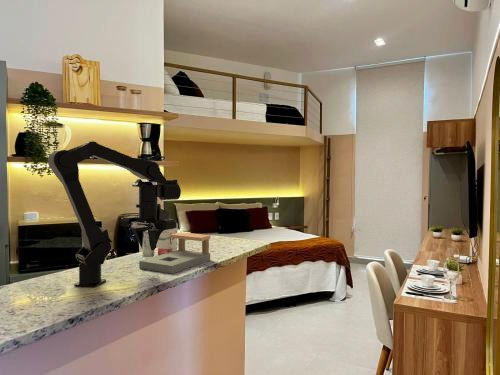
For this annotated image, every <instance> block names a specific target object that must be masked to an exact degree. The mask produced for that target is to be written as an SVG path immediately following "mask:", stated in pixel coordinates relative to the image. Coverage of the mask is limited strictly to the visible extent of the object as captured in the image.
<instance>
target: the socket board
mask: <svg viewBox="0 0 500 375" xmlns="http://www.w3.org/2000/svg"><path fill="white" fill-rule="evenodd" d="M170 238H177V251H173V252H170V253H166V254H162V255H156V256H155V255H154V256H153V257H147V258H146V259H145V258H144V259H141V260H138V261H139V263H138V265H139V266H138V267H139V269H143V270H147V271H148V270H149V271H153V272H154V271H155V272H160V273H166V274H175V273H177V272H180V271H184V270H186V269H188V268H192V267H195V266H197V265H200V264H203V263H206V262H208V260H209V261H211V253H210V239H211V235H209V234H200V233H198V234H197V233H191V232H190V233H189V232H177V233H175V234H171V235H170ZM188 240H189V241H195V242H197V241H198V242H201V251H195V250H187V249H186V241H188ZM205 261H206V262H205Z"/></svg>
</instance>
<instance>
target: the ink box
mask: <svg viewBox="0 0 500 375" xmlns="http://www.w3.org/2000/svg"><path fill="white" fill-rule="evenodd" d="M178 226H179V224H178V223H177V228H174V229H169V230H164V231H163V232H162V233H161V235H160V237H159V239H158V242H157V256H159V255H162V254H166V253H170V252H173V251H177V250H178V239H177V238H170V235H171V234H175V233H178V228H179V227H178Z"/></svg>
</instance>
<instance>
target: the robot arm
mask: <svg viewBox="0 0 500 375" xmlns="http://www.w3.org/2000/svg"><path fill="white" fill-rule="evenodd" d="M91 157H92V158H96V159H98V160H101V161H103V162H106V163H109V164H110V165H115V166H116V167H119V168H123V169H124V170H125V169H126V170H127V171H129V172H130V173H131V174H132V175H134V176H135V177H137V178H139V179H136V181H135V182H133V183H132V185H131V186H132V187H136V188H138V203H137V204H135V208H136V209H137V208H138V216H137V215H130V216H123V217H122V218H121V219H120V226H121V227H129V226H131V227H129V230H131V231H132V233H133V235H134V236H135V237H136V240H137V242H138V244H139V246H140V248H141V249H142V250H143V235H142V231H147V230H148V235H149V241H150V247H151V250H152V251H153V250H154V251H155V249H156V248H157V246H158V239H159V237H160V235H161V233H162V232H163V231H164V230H169V229H174V228H177V224H178V222H177V220H176V219H174V218H170V217H171V212H170V211H169V210H165V209H162V205H161V203H158V199H159V200H160V201H176V200H179V199H180V198H181V195H182V194H181V193H182V190H181V186H180V185H179V183H178V179H166V177H165V176H164V174H163V173H162V171H161V168H160V165H159V163H158V162H156V161H153V160H147V159H142V158H135V157H133V156H130V155H127V154H125V153H122V152H120V151H117V150H115V149H112V148H109V147H107V146H105V145H102V144H100V143H98V142H97V141H93V140H91V141H86V142H84V143H83V144H80V145H78V146H76V147H72V148H70V149H68V150H67V149H61V150H56V151H53V152H51V153H50V154H49V156H48V158H47V164H48V167H49V168H50V169H51V171H52V172H53V174H54V176H55V177H56V178H57V180H59V182H60V183H61V185H63V187H64V190H65V193H66V196H67V198H68V200H69V202H70V205H71V207H72V209H73V212H74V214H75V218H76V219H77V222H78V224H79V227H80V229H81V242H82V245H83V246H82V247H81V248H80V249H79V250H78V251H77V252H76V253H75V258H76V260H77V262H79V264H78V281H77V282H75V283H74V284H73V285H74V287H88V288H89V287H90V288H95V287H98V286H99V285H101V284H103V283H105V282H106V281H107V279H106V278H102V265H104V264H105V261H106V257H107V256H108V255H109V254H110V252H111V250H112V243H113V241H112V240H111V238H110V236H109V231H108V229H106V228H103V227H99V225H98V223H97V221H96V219H95V216H94V214H93V212H92V209H91V207H90V204H89V200H88V199H87V196H86V193H85V191H84V189H83V187H82V183H81V182H80V171H79V170H80V169H79V165H78V163H81V162H83V161H85V160H87V159H89V158H91ZM143 180H147V181H143ZM153 183H156V184H153ZM149 227H151V229H149Z"/></svg>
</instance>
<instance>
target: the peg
mask: <svg viewBox="0 0 500 375" xmlns="http://www.w3.org/2000/svg"><path fill="white" fill-rule="evenodd" d="M148 230H149V229H147V231H142V235H143V249H142V257H143V258H151V257H155V250H153V251H152V250H151V247H150V241H149V235H148Z"/></svg>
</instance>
